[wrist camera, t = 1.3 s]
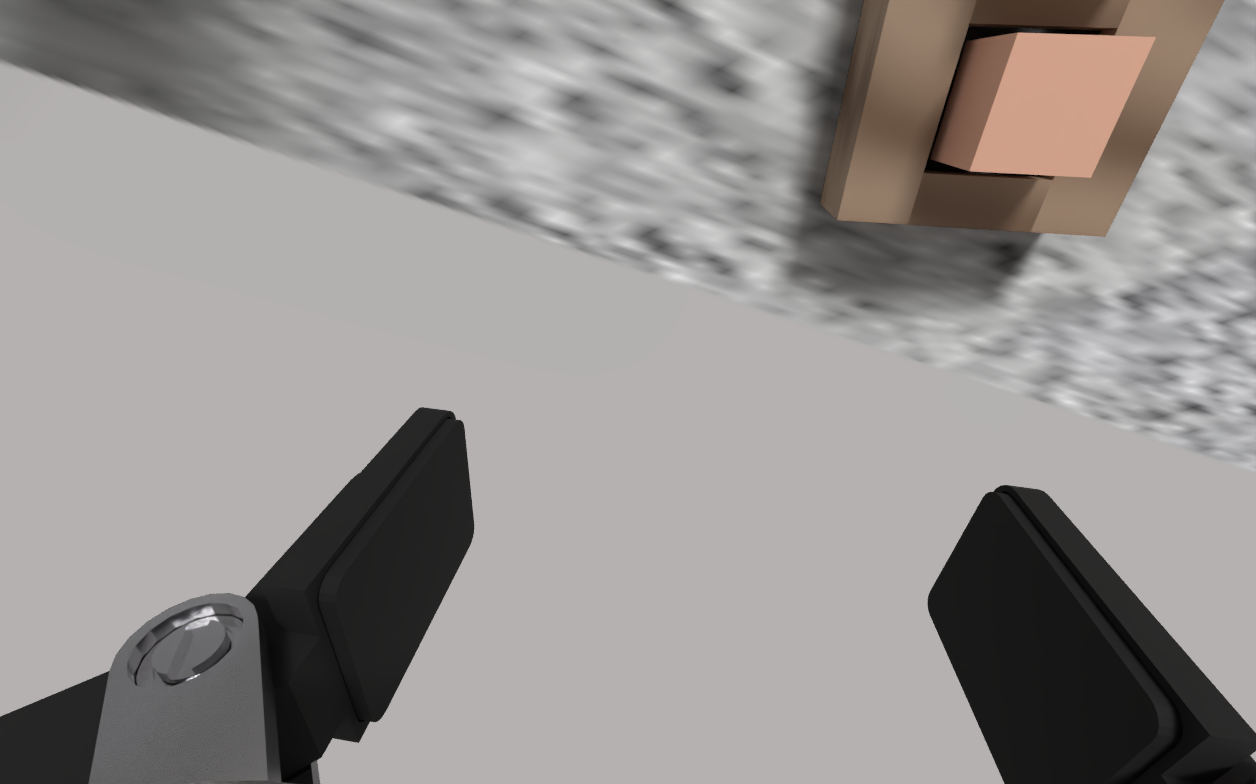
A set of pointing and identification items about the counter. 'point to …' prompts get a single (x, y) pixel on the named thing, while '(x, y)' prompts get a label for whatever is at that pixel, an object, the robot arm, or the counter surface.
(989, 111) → the terracotta key
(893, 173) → the wooden compartment tray
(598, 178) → the counter surface
